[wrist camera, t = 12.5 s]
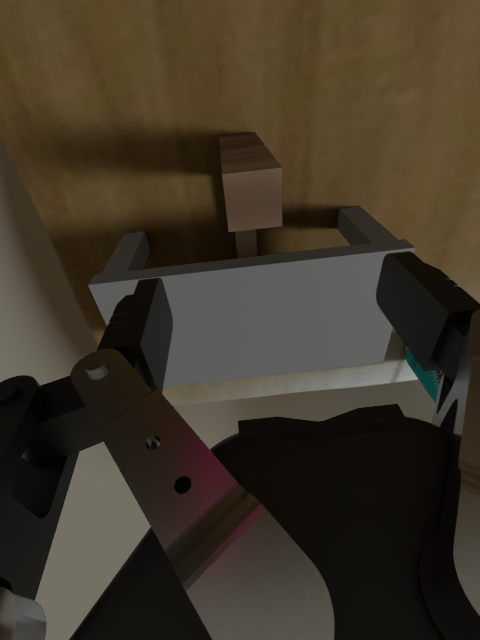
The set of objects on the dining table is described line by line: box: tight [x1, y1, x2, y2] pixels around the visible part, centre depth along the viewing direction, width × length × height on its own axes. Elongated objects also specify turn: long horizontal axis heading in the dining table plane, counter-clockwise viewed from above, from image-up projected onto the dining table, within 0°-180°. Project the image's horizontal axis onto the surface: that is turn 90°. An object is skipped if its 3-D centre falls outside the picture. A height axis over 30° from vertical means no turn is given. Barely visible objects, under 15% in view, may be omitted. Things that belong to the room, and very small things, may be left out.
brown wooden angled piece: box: [219, 133, 282, 258], centre depth 26 cm, size 19×9×13 cm, turn 5°
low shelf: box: [88, 206, 415, 387], centre depth 30 cm, size 12×24×10 cm, turn 95°
